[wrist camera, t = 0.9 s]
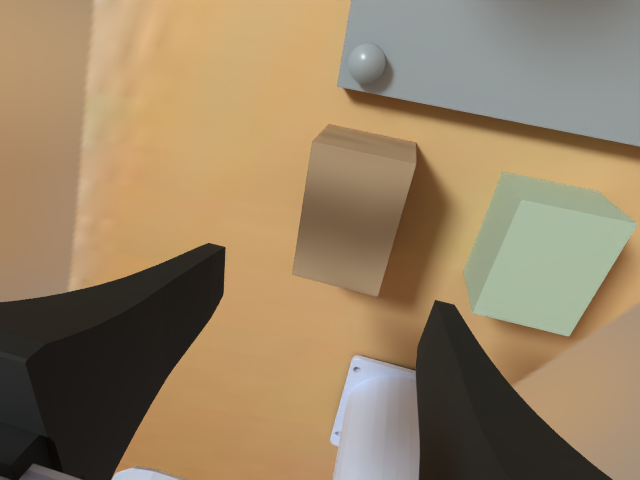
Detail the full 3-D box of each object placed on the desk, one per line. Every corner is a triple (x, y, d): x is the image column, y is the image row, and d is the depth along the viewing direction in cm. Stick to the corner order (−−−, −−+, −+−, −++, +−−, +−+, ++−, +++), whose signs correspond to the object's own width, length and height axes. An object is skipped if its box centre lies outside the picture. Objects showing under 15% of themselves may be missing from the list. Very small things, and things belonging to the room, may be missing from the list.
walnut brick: (383, 257, 23) (377, 296, 20) (309, 240, 24) (292, 274, 20) (415, 141, 20) (416, 164, 16) (329, 123, 20) (312, 141, 17)
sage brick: (544, 289, 22) (569, 336, 18) (463, 270, 22) (472, 313, 19) (596, 189, 19) (637, 223, 15) (501, 170, 19) (521, 199, 16)
